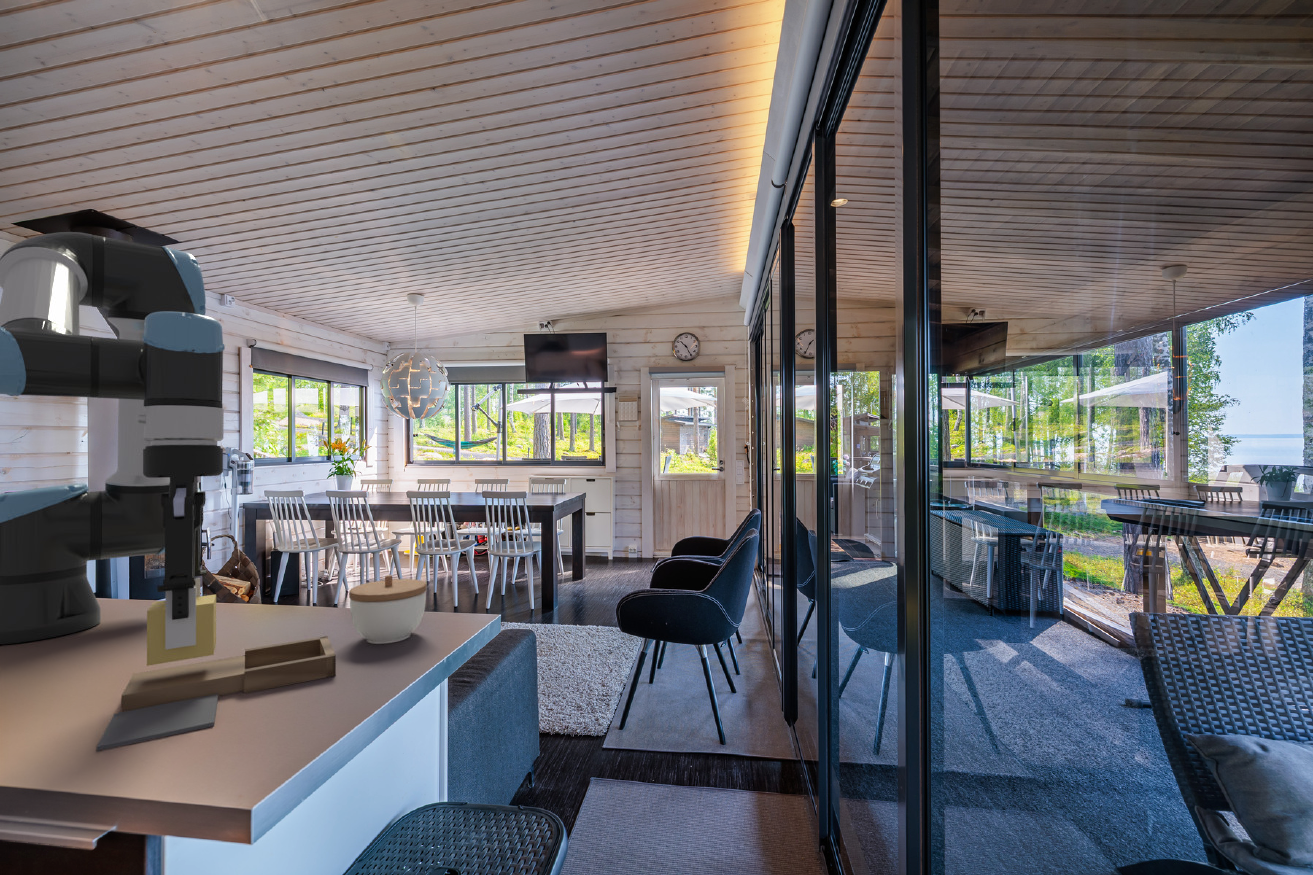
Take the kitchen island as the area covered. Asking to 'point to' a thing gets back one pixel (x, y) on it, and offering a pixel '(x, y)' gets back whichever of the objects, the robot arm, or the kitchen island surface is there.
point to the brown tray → (233, 674)
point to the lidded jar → (387, 609)
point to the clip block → (201, 649)
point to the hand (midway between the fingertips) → (183, 638)
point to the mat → (159, 721)
